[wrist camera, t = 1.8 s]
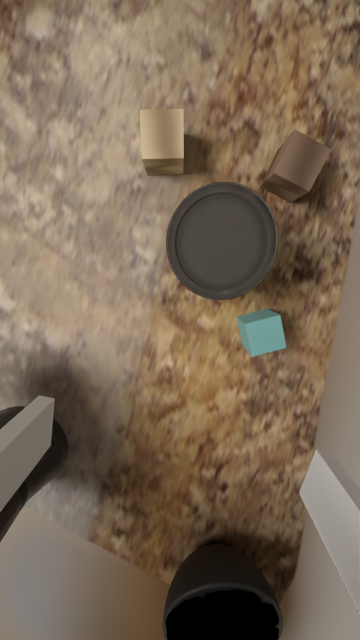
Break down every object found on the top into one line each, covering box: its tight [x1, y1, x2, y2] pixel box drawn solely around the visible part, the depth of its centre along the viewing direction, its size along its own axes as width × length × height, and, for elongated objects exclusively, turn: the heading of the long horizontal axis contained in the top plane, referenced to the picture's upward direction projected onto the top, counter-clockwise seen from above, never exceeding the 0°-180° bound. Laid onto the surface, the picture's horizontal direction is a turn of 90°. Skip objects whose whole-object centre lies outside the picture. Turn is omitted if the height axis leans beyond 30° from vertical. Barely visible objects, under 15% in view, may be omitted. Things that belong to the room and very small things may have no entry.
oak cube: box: [140, 109, 184, 175], centre depth 29 cm, size 5×5×5 cm
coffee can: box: [166, 182, 279, 300], centre depth 28 cm, size 10×10×14 cm
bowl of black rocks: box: [163, 544, 283, 640], centre depth 39 cm, size 20×20×19 cm
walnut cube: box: [260, 130, 331, 203], centre depth 30 cm, size 5×5×5 cm
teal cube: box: [236, 309, 286, 357], centre depth 35 cm, size 5×5×5 cm
